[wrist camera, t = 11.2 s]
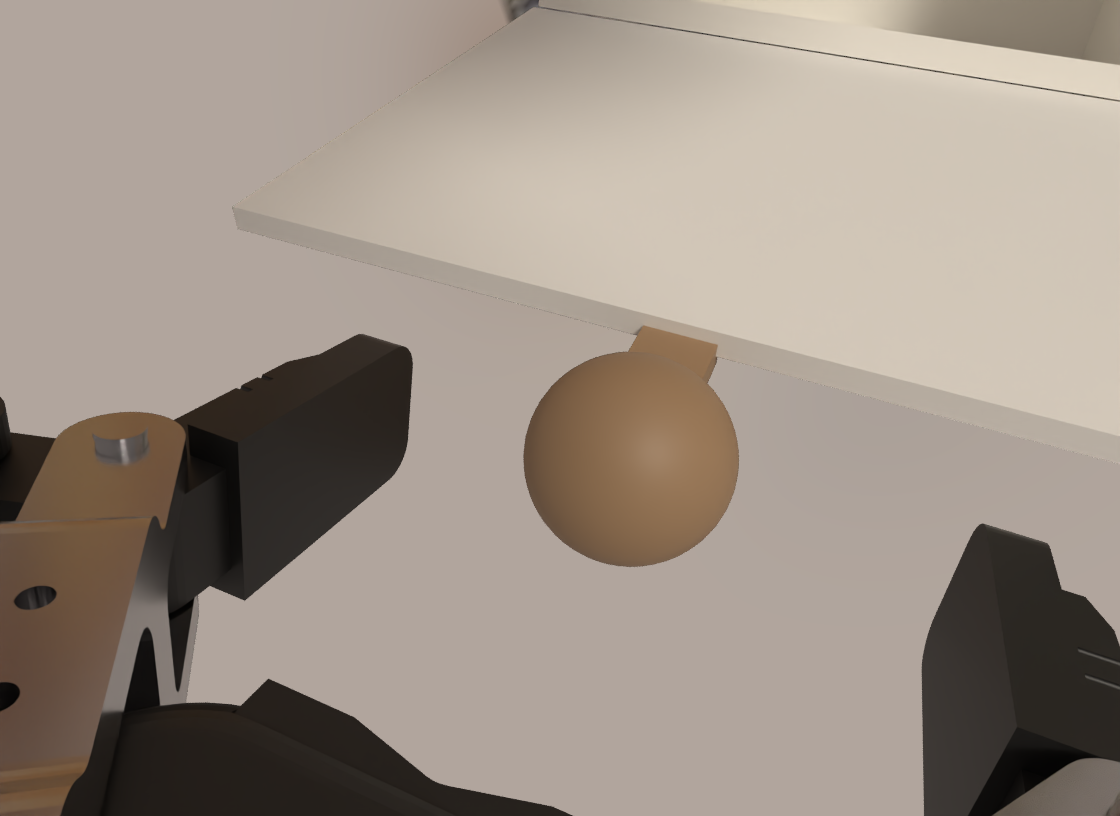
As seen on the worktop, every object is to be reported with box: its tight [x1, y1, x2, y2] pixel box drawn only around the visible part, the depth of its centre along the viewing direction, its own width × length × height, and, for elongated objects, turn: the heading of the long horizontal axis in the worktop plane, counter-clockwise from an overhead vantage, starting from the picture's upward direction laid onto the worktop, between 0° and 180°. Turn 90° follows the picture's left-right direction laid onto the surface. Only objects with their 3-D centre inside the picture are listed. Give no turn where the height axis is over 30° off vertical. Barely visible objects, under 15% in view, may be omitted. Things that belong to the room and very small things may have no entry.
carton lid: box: [232, 7, 1120, 567], centre depth 22 cm, size 23×22×4 cm
